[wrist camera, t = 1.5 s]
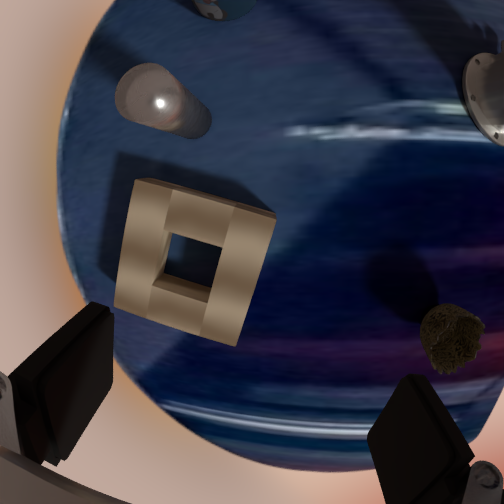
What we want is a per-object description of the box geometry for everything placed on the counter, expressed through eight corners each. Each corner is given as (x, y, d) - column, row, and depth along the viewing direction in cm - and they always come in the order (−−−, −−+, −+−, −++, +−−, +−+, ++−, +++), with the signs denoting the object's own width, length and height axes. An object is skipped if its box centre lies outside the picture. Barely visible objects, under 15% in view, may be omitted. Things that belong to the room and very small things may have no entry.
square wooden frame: (149, 177, 32) (135, 179, 28) (275, 213, 33) (276, 219, 29) (127, 292, 36) (113, 306, 32) (238, 328, 36) (235, 346, 32)
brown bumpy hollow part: (446, 338, 36) (473, 370, 28) (400, 343, 36) (424, 379, 28) (458, 287, 34) (492, 313, 26) (411, 289, 34) (442, 319, 26)
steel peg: (180, 99, 30) (125, 60, 16) (216, 107, 30) (181, 67, 16) (170, 134, 31) (107, 116, 17) (205, 143, 31) (161, 127, 17)
